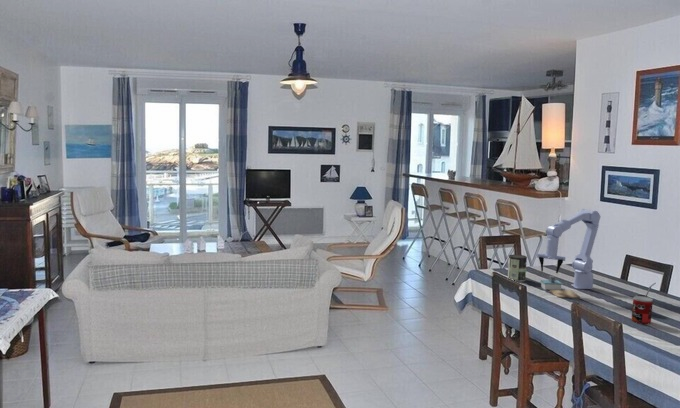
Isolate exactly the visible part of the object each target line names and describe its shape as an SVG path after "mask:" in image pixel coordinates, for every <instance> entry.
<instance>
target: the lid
mask: <svg viewBox="0 0 680 408" xmlns="http://www.w3.org/2000/svg"><path fill="white" fill-rule="evenodd" d="M540 282H542V283H544V284H550V285H561V286H562V285H563V282H561V281H559V280H557V279H556V280H555V276H554V275H548V279H540Z"/></svg>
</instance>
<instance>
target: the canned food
mask: <svg viewBox="0 0 680 408" xmlns="http://www.w3.org/2000/svg"><path fill="white" fill-rule="evenodd" d="M648 297H649V296H648ZM648 297H643V296H636V295H635V296H633V299H632V309H631V321H632V322H633V321H634V322H633V323H636V322H637V324H640V323H645V324H644V325H649V324H651V322H652V313H653V305H654V301H653V298H651V297H649V298H648ZM648 323H649V324H648Z"/></svg>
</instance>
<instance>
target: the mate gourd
mask: <svg viewBox="0 0 680 408" xmlns="http://www.w3.org/2000/svg"><path fill="white" fill-rule="evenodd" d="M656 283H657V282H654V283H652V284H651V285H650V286H649V288H648V290H647V292H646V294H636V295H635V296H643V297H648V298H650V297H649V296H648V294H649V292H650V290H652V287H653V286H654V285H656Z"/></svg>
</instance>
